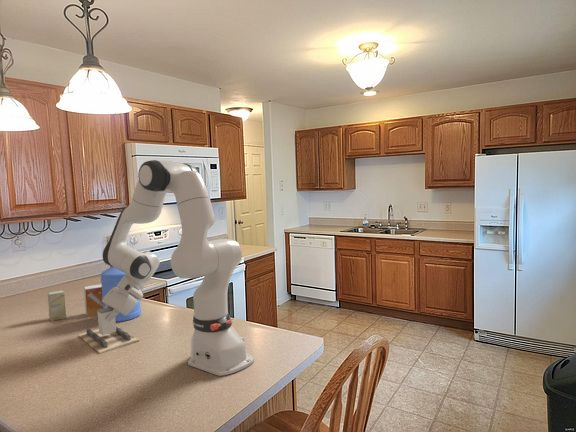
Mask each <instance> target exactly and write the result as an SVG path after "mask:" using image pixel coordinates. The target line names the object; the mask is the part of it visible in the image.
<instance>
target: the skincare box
mask: <svg viewBox="0 0 576 432" xmlns="http://www.w3.org/2000/svg"><path fill="white" fill-rule="evenodd" d="M65 293H66V292H65V291H64V290H62V289H61V290H58V291H51V292H47V301H48V316H49V317H48V318H49V320H50V322H53V321H57V320H63V319H64V320H65V319H66V318H67V311H66V298H65Z"/></svg>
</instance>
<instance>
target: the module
mask: <svg viewBox="0 0 576 432" xmlns="http://www.w3.org/2000/svg"><path fill="white" fill-rule="evenodd" d="M113 309H114V308H112V307H107V308H103V309H99V310H97V312H98V315H97V322H98V323H97V324H98V329H99V333H100V334H102V335H106V334H109V333H113V332H116V325H117V322H116V320H115V317H114V318H113V319H112V320H111V321H110V322H109V321H107V320H106V317H107V316H108V315H110V314H111V313H112V311H113Z"/></svg>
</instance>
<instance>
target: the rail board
mask: <svg viewBox="0 0 576 432" xmlns="http://www.w3.org/2000/svg"><path fill="white" fill-rule="evenodd" d="M78 337H79V338H81V339H82V340H83V341H84V342H85V343H86V344H88V345H89V346H90V347H91V348H93V349H94V351H96V352H97V353H98V354H102V353H106V352H109V351H113V350H116V349H119V348H122V347H125V346H128V345H131V344H134V343H139V342H140V339H138V338H137V337H135V336H134V335H132V334H130V333H129V332H128V331H126V330H124V329H123V328H121V327H120V326H118V325H117V324H116V332H113V333H109V334H106V335H102V334H100V333H99V328H98V329H94V330H91V329H90V328H86V332H83V333H79V334H78Z"/></svg>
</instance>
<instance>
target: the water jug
mask: <svg viewBox="0 0 576 432" xmlns="http://www.w3.org/2000/svg"><path fill="white" fill-rule="evenodd" d="M125 275H126V273H124V272H122V271H120V270H118V269H116V268H115V267H112V266H110V267H108V268H107V269H105V270H103V271H102V272H100V284H102V299H103V298H104V297H105V295H106V294H107V293H108V292H109V291H110V290H111V289H112V288H113V287H116V286H117V284H118V283H119V282H120V281H121V279H122V278H123V277H124V276H125ZM105 306H106V304H104V303H103V308H105ZM141 314H142V307H141V300H138V303H137V304H136V306H135V307H134V308H133V309H132V311H131V312H130V313H129V314H127V315H123V314H122V313H120V312H119V314H118V315H117V316H115V320H116V323H120V322H127V321H130V320H132V319H136V318H138V317H140V315H141Z"/></svg>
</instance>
